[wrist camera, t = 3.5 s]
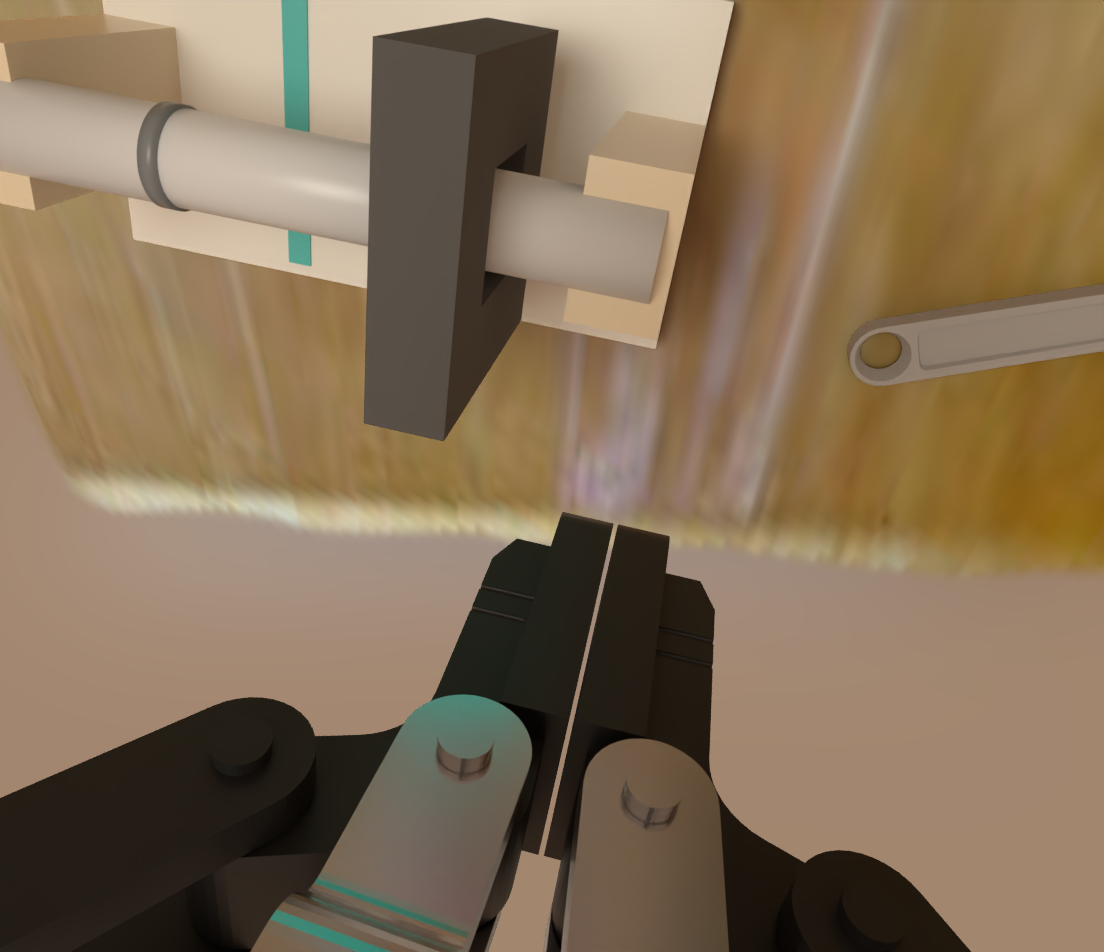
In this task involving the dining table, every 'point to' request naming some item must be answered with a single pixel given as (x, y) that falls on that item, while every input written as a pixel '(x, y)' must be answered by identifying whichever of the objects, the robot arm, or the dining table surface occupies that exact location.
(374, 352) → the collar
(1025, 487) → the dining table surface
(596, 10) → the pipe stand
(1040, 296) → the adjustable wrench
